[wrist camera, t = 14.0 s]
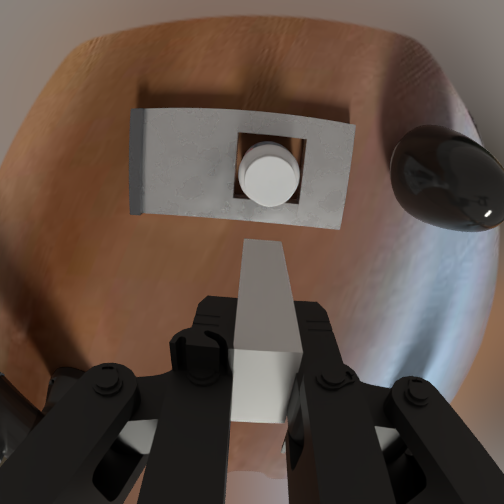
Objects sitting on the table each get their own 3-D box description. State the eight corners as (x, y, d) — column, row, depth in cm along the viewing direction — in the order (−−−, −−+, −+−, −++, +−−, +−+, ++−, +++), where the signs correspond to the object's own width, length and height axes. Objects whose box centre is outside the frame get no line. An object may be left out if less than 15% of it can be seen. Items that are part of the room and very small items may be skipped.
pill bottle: (246, 136, 29) (242, 140, 21) (297, 146, 30) (311, 153, 22) (237, 185, 31) (230, 207, 23) (286, 194, 32) (296, 220, 24)
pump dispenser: (449, 208, 32) (530, 260, 18) (377, 212, 32) (446, 274, 18) (451, 126, 28) (544, 142, 14) (375, 121, 28) (458, 126, 14)
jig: (139, 207, 33) (130, 214, 30) (141, 109, 28) (130, 108, 26) (335, 223, 33) (341, 232, 30) (350, 125, 28) (358, 125, 26)
